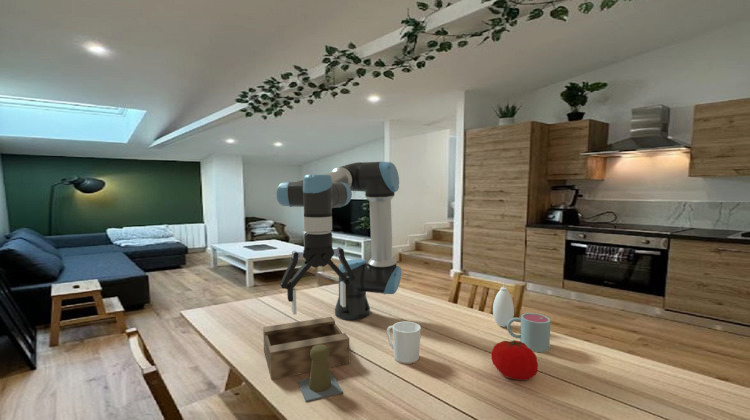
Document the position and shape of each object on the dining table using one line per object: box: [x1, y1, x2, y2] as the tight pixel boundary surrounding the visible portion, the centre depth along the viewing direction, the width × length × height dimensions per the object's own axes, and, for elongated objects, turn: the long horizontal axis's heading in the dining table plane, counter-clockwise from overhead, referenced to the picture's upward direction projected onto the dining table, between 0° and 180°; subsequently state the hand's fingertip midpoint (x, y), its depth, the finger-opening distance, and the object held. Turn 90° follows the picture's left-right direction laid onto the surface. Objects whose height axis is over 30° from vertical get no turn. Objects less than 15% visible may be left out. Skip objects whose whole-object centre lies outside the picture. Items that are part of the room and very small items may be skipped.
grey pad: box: [297, 372, 344, 403], centre depth 97 cm, size 10×10×1 cm
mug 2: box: [506, 312, 551, 353], centre depth 123 cm, size 14×9×10 cm
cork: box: [309, 345, 331, 392], centre depth 97 cm, size 6×6×11 cm
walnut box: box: [262, 316, 350, 381], centre depth 114 cm, size 24×20×8 cm
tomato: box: [490, 339, 539, 381], centre depth 103 cm, size 11×13×10 cm
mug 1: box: [386, 320, 422, 365], centre depth 114 cm, size 11×9×10 cm
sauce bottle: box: [492, 281, 515, 328], centre depth 139 cm, size 8×8×18 cm
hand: (319, 309), depth 97 cm, fingers open, 13 cm apart
